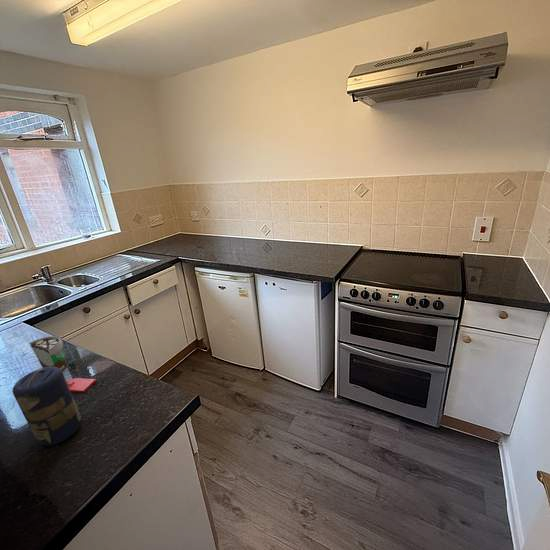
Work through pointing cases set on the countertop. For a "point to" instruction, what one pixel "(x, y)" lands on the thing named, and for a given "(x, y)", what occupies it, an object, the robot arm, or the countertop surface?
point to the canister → (47, 405)
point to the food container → (49, 352)
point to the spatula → (80, 384)
